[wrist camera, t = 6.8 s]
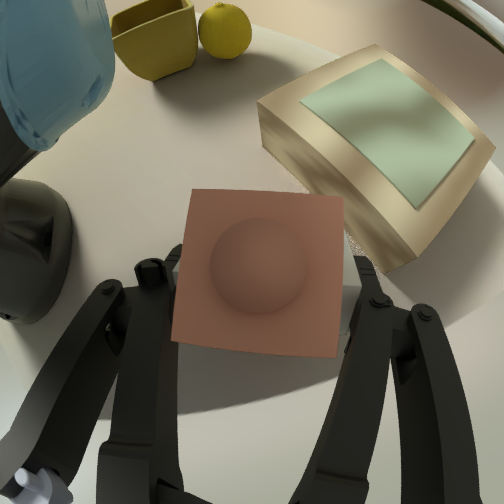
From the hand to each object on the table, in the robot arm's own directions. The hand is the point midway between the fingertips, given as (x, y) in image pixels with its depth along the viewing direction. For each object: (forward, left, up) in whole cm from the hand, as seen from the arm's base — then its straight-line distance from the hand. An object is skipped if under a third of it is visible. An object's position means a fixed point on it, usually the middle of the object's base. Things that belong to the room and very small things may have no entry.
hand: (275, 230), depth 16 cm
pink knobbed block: (+2, -3, -4) cm, 5 cm away
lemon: (-18, +14, -4) cm, 23 cm away
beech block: (+2, +12, -4) cm, 12 cm away
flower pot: (-24, +10, -4) cm, 26 cm away
